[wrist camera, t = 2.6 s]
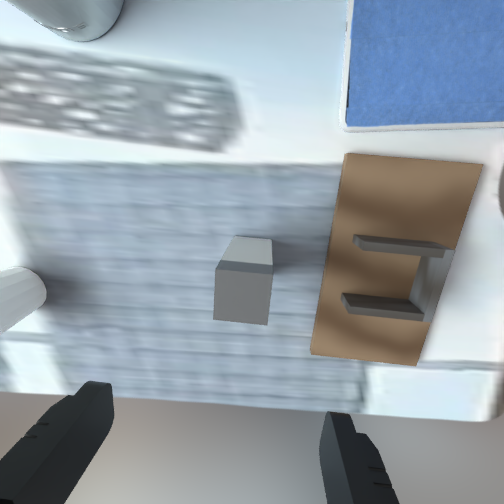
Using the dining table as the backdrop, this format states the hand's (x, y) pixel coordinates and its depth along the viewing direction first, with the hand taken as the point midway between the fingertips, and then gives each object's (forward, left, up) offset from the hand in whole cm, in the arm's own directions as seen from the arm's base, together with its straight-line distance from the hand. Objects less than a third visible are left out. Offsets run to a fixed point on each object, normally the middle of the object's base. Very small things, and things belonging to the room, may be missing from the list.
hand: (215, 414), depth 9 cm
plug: (0, 0, -19) cm, 19 cm away
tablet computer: (-20, +16, -20) cm, 33 cm away
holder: (0, +14, -19) cm, 24 cm away
